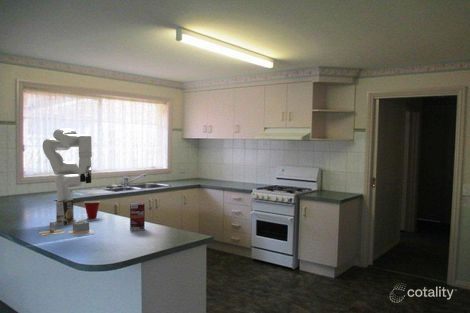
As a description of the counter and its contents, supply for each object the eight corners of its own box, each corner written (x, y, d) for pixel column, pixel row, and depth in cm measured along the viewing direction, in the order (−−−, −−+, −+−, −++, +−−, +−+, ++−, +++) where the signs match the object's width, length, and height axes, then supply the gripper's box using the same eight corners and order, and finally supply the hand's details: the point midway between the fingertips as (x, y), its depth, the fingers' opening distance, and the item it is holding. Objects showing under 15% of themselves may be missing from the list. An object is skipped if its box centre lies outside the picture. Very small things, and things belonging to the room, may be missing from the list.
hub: (67, 233, 216) (66, 219, 215) (87, 230, 224) (87, 216, 223) (73, 237, 207) (73, 222, 206) (95, 233, 215) (95, 219, 214)
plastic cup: (103, 216, 266) (102, 200, 266) (96, 219, 255) (95, 202, 255) (88, 216, 267) (88, 199, 267) (81, 219, 256) (80, 202, 256)
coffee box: (65, 227, 232) (64, 201, 231) (56, 226, 233) (55, 201, 232) (74, 224, 241) (73, 199, 240) (65, 223, 242) (65, 199, 241)
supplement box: (130, 231, 221) (129, 204, 221) (130, 229, 226) (129, 203, 225) (144, 230, 223) (144, 204, 223) (144, 228, 228) (144, 202, 227)
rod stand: (38, 234, 215) (37, 222, 214) (59, 230, 222) (59, 219, 222) (43, 238, 206) (43, 225, 205) (66, 234, 213) (66, 222, 213)
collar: (72, 229, 215) (72, 222, 215) (84, 228, 220) (84, 220, 220) (76, 231, 210) (76, 224, 210) (89, 230, 215) (89, 222, 215)
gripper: (74, 154, 233) (74, 181, 234) (83, 155, 220) (84, 184, 221) (86, 154, 238) (86, 181, 239) (96, 155, 225) (96, 183, 226)
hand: (85, 182), depth 230 cm, fingers open, 9 cm apart
